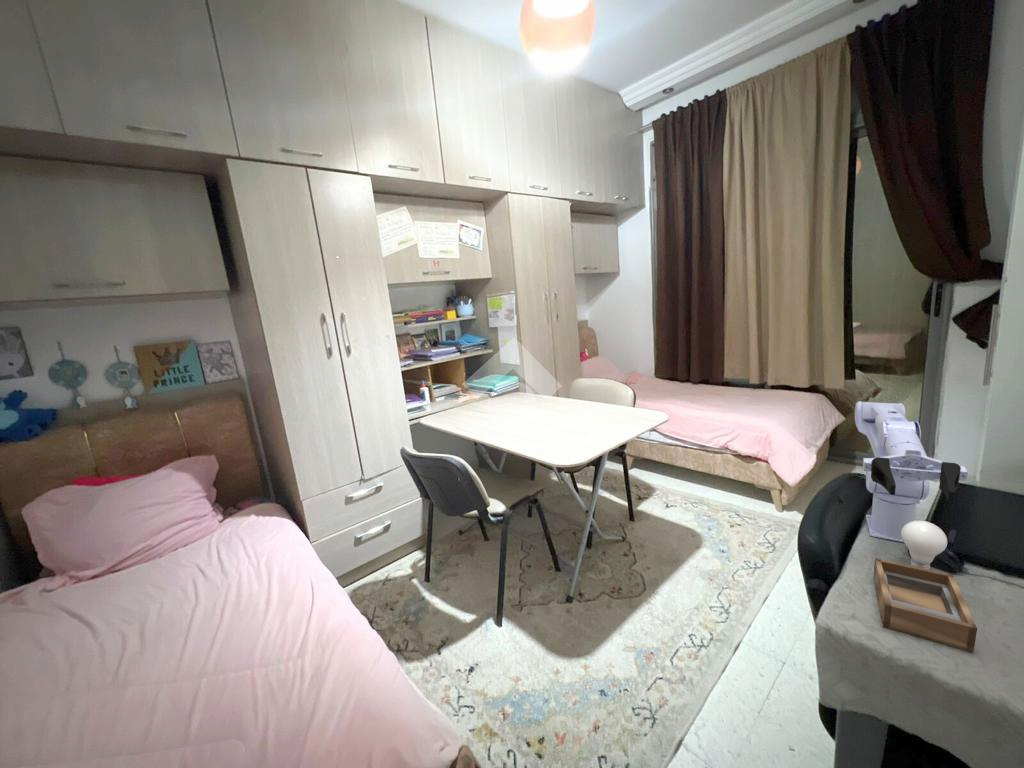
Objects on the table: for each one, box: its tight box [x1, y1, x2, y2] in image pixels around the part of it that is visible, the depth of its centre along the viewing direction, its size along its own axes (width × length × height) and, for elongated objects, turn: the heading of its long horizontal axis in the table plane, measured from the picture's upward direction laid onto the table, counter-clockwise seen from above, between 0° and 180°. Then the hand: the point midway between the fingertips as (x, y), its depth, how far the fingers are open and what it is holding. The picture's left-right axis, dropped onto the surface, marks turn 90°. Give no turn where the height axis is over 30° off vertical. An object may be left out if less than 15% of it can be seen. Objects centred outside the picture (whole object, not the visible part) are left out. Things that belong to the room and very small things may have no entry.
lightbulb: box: [901, 519, 948, 570], centre depth 81 cm, size 6×6×11 cm
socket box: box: [872, 557, 978, 654], centre depth 73 cm, size 14×11×4 cm
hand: (921, 493), depth 75 cm, fingers open, 7 cm apart
